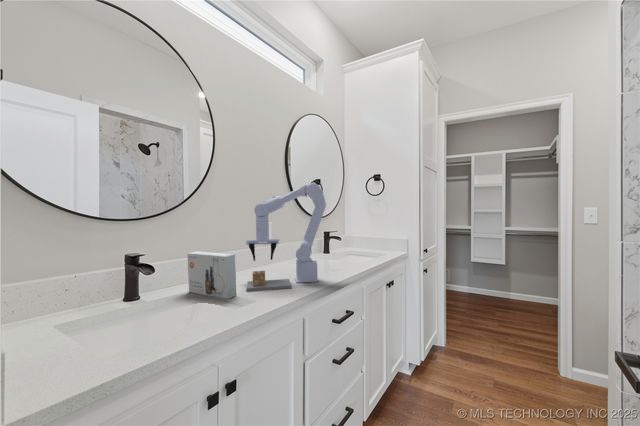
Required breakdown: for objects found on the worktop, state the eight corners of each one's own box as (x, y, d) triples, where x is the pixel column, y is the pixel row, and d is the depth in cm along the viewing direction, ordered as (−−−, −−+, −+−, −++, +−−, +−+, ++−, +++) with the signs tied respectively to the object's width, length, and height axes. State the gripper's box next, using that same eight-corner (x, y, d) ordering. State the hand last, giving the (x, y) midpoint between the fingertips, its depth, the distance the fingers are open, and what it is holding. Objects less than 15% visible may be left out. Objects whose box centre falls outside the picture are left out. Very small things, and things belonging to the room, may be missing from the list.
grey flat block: (289, 281, 131) (288, 266, 131) (291, 288, 119) (291, 271, 119) (247, 284, 127) (247, 268, 127) (246, 291, 115) (245, 274, 115)
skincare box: (187, 292, 115) (186, 252, 115) (198, 289, 120) (198, 251, 120) (226, 299, 106) (225, 255, 105) (237, 295, 110) (236, 253, 110)
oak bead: (265, 282, 125) (264, 270, 125) (265, 285, 120) (265, 273, 120) (253, 283, 124) (253, 271, 124) (252, 285, 119) (252, 273, 119)
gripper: (245, 231, 127) (246, 262, 128) (279, 230, 131) (279, 260, 131) (246, 230, 134) (246, 259, 134) (278, 229, 137) (278, 258, 137)
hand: (263, 260), depth 133 cm, fingers open, 7 cm apart
